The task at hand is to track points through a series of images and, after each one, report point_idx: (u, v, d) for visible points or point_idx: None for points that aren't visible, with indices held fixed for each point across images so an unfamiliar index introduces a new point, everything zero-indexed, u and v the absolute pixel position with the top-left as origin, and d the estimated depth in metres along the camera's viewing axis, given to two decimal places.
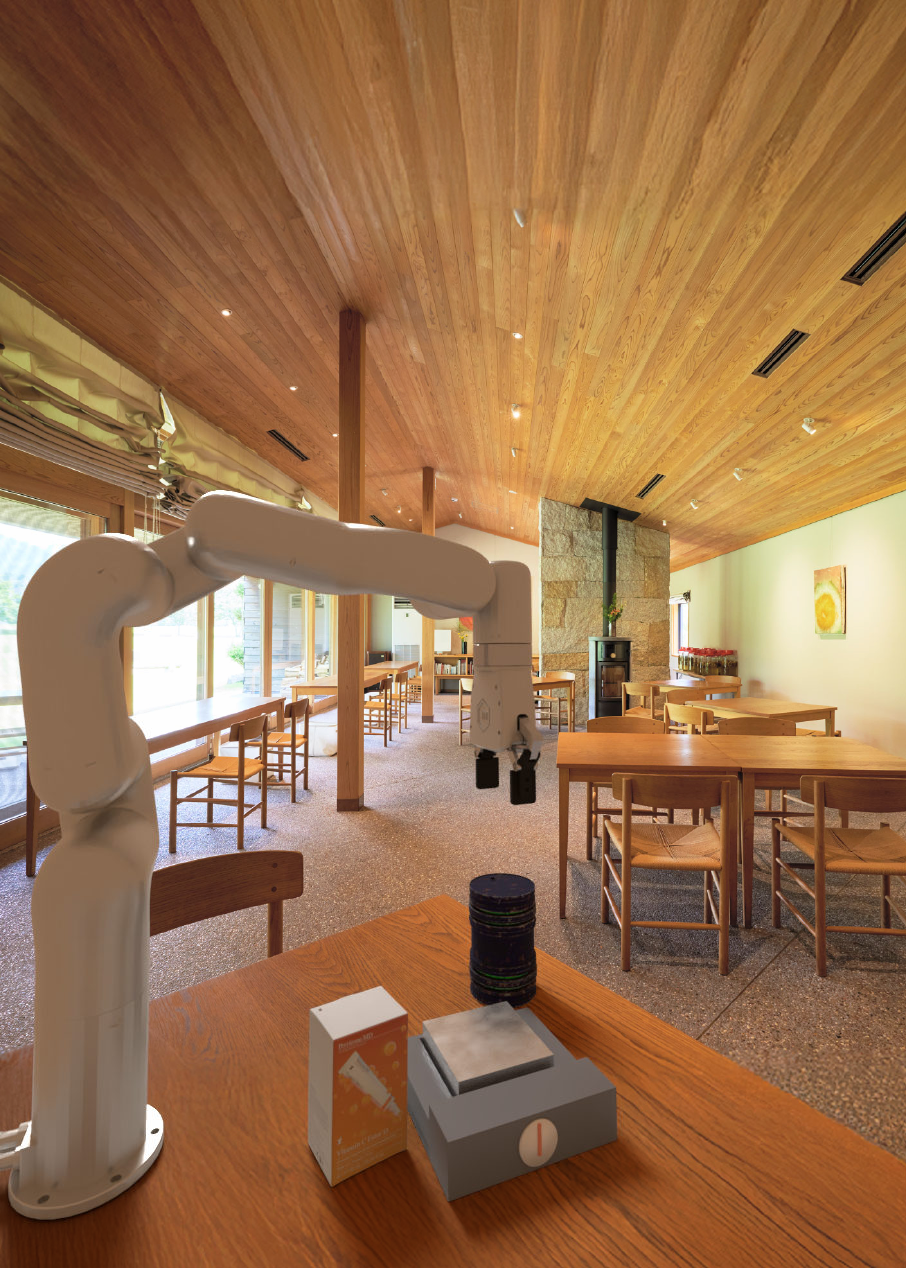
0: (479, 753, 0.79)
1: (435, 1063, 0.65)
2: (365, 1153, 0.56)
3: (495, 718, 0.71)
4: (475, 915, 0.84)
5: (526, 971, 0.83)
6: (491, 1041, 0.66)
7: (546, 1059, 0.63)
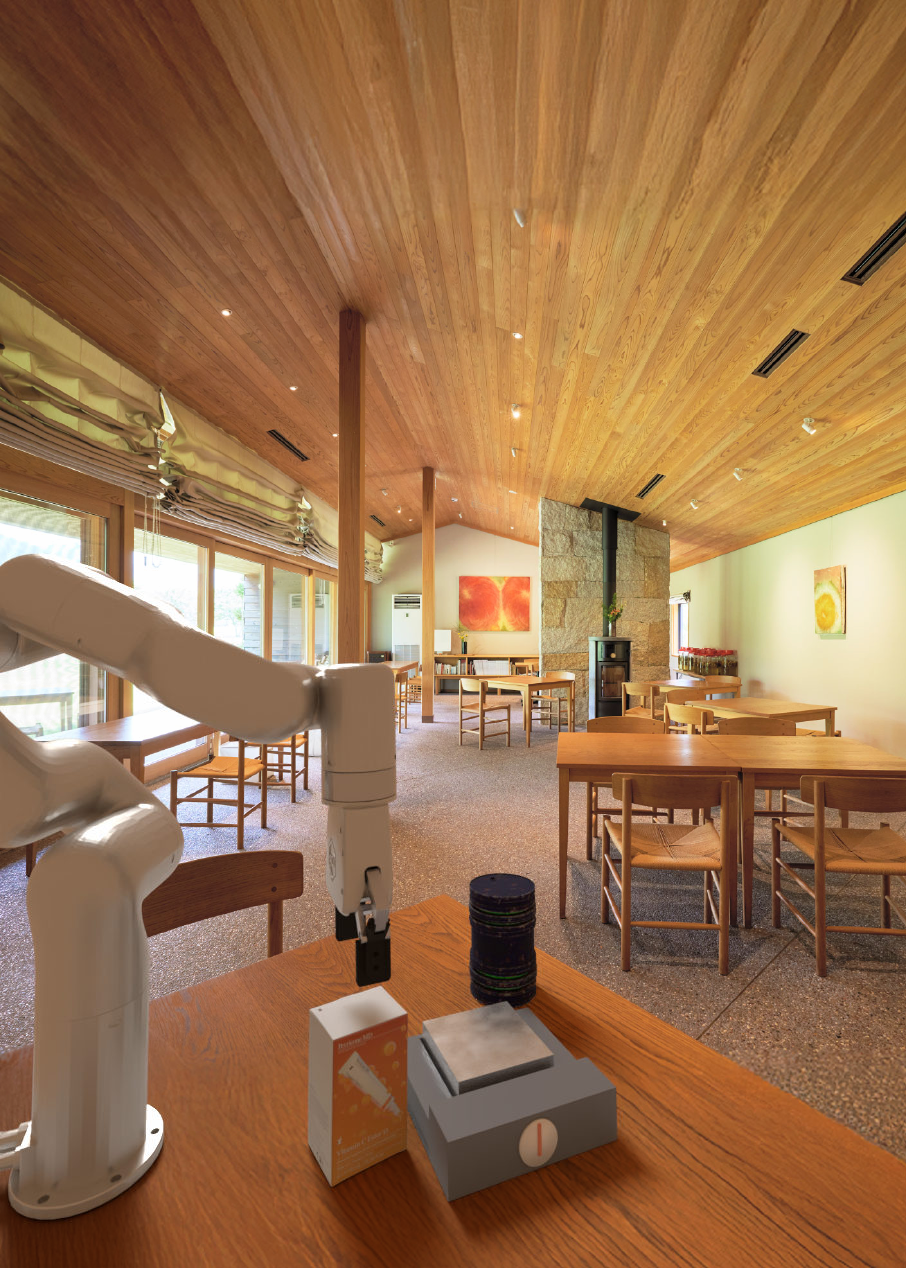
0: None
1: (435, 1063, 0.65)
2: (365, 1153, 0.56)
3: (339, 870, 0.56)
4: (476, 915, 0.84)
5: (526, 971, 0.83)
6: (491, 1041, 0.66)
7: (546, 1059, 0.63)
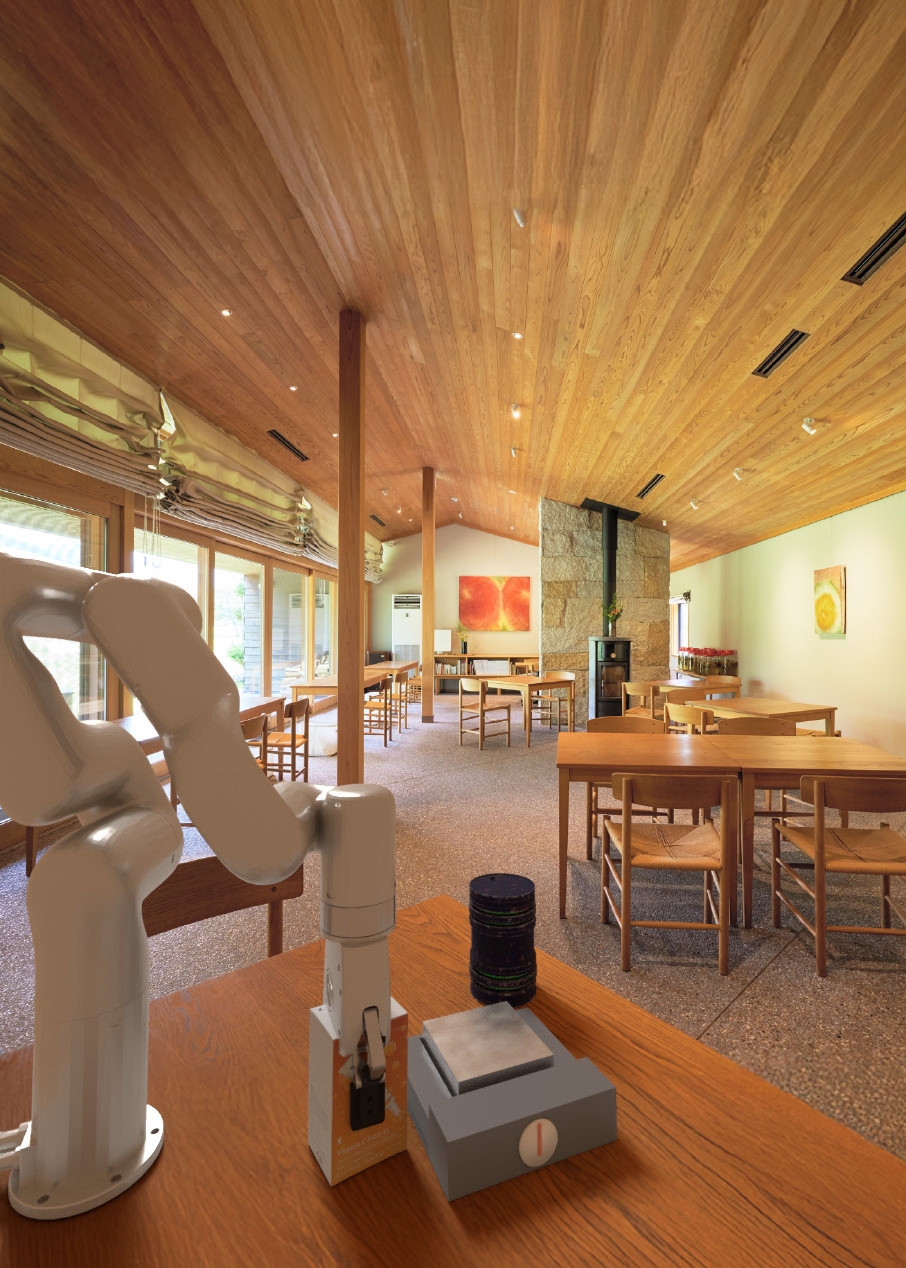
0: None
1: (435, 1063, 0.65)
2: (365, 1153, 0.56)
3: (337, 1008, 0.55)
4: (476, 915, 0.84)
5: (526, 971, 0.83)
6: (491, 1041, 0.66)
7: (546, 1059, 0.63)
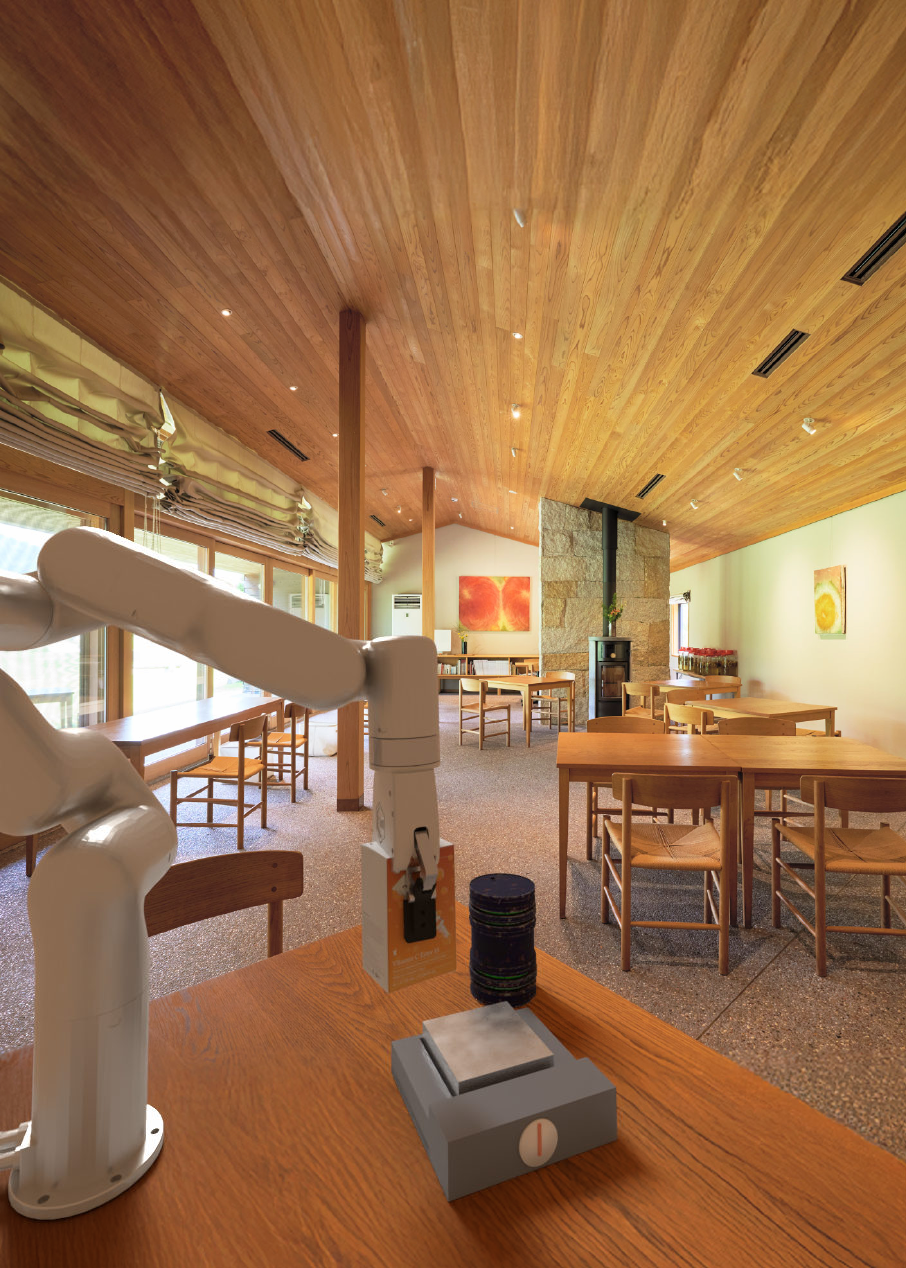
0: None
1: (435, 1063, 0.65)
2: (418, 967, 0.59)
3: (389, 831, 0.59)
4: (476, 915, 0.84)
5: (526, 971, 0.83)
6: (491, 1041, 0.66)
7: (546, 1059, 0.63)
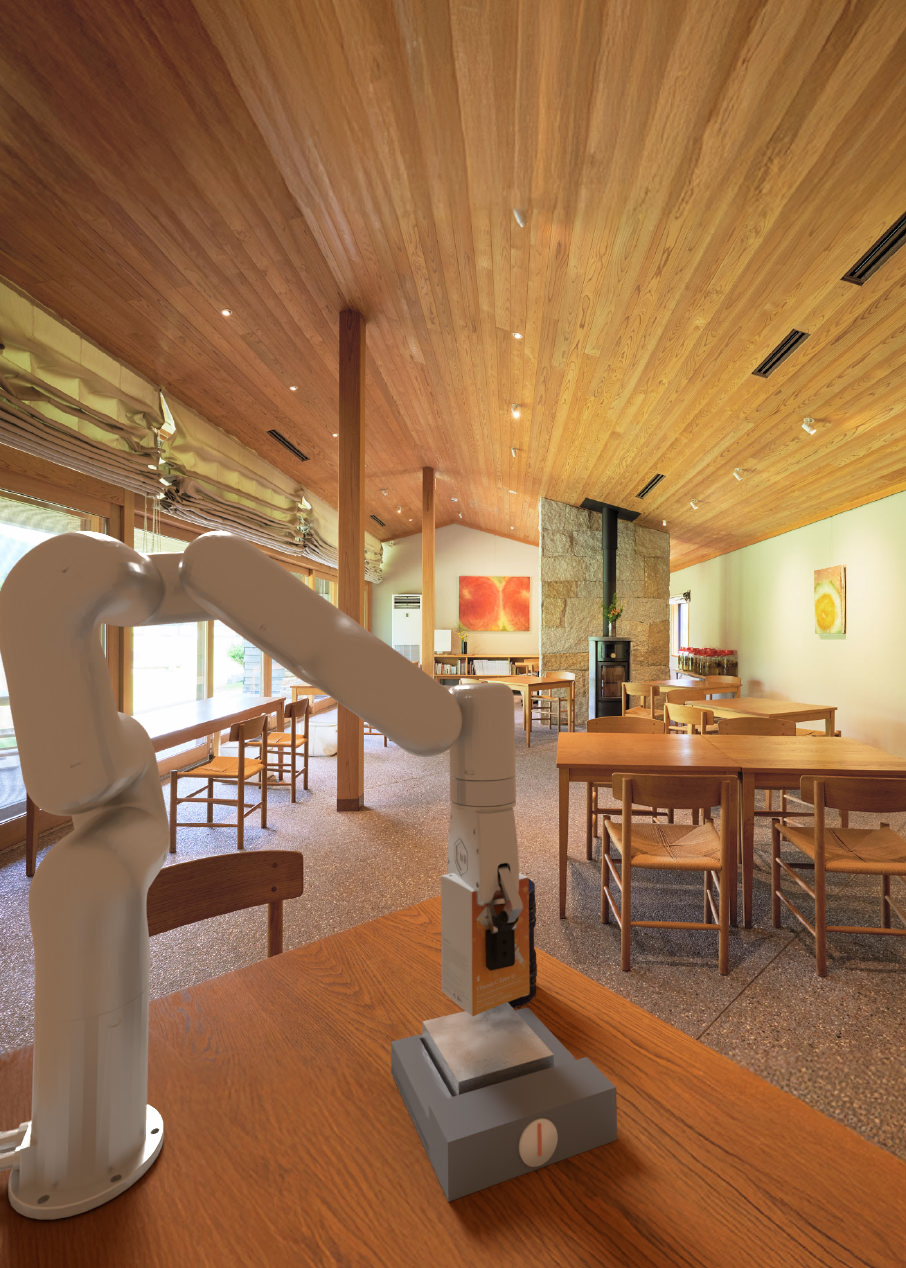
0: None
1: (435, 1063, 0.65)
2: (497, 992, 0.64)
3: (473, 866, 0.64)
4: None
5: None
6: (491, 1041, 0.66)
7: (546, 1059, 0.63)
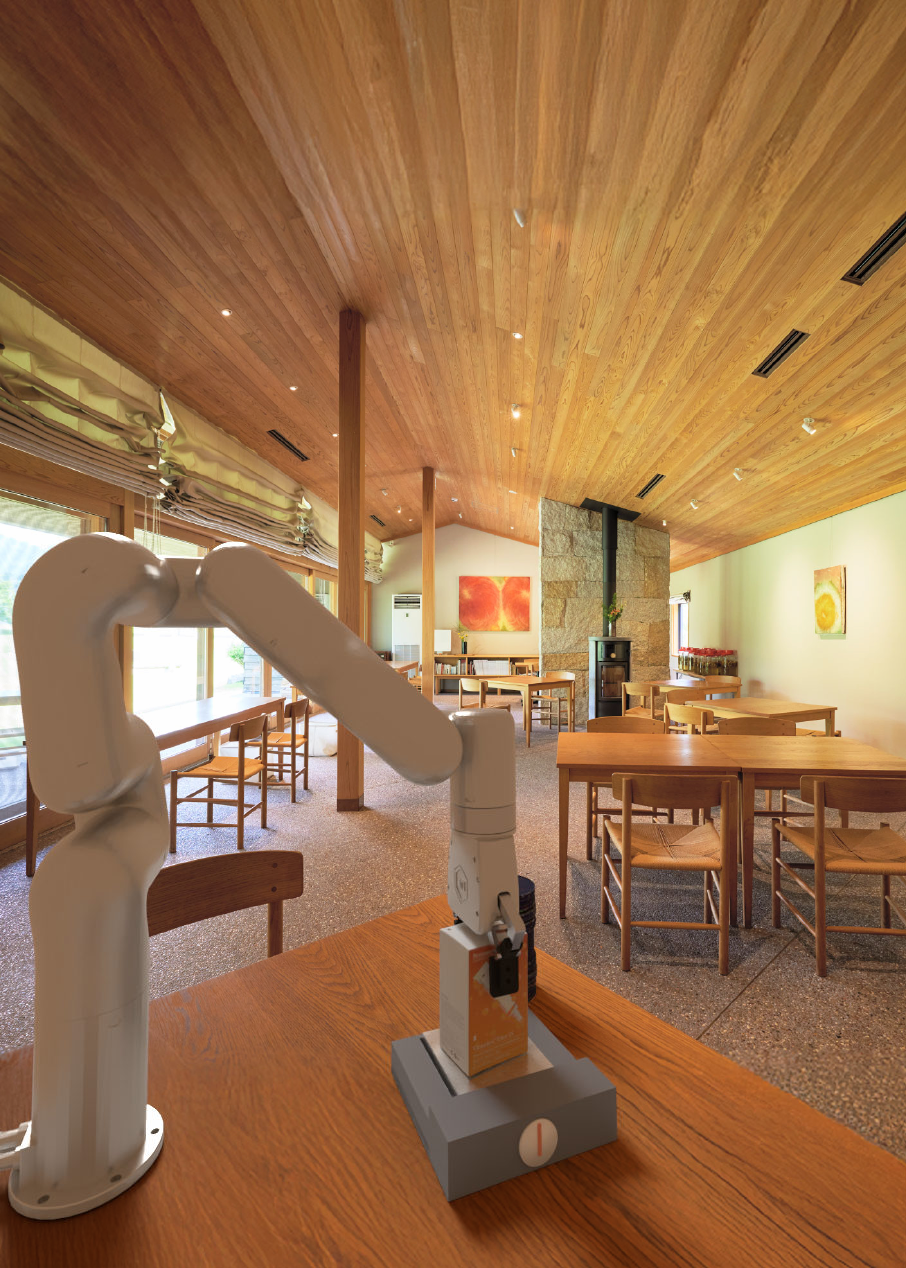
0: None
1: None
2: (494, 1051, 0.63)
3: (473, 895, 0.63)
4: None
5: None
6: None
7: None
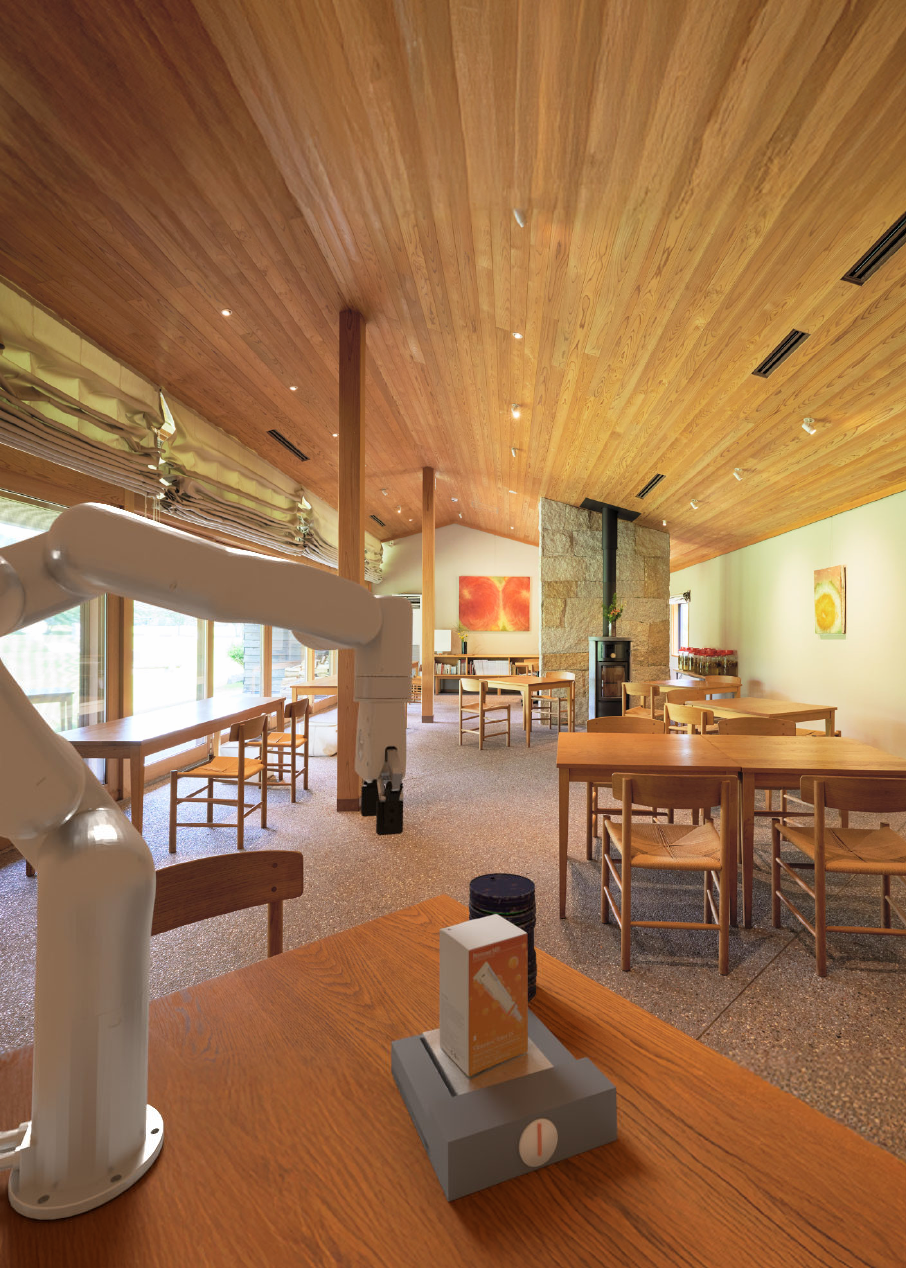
0: (365, 781, 0.81)
1: None
2: (494, 1051, 0.63)
3: (366, 749, 0.73)
4: (476, 915, 0.84)
5: None
6: None
7: None
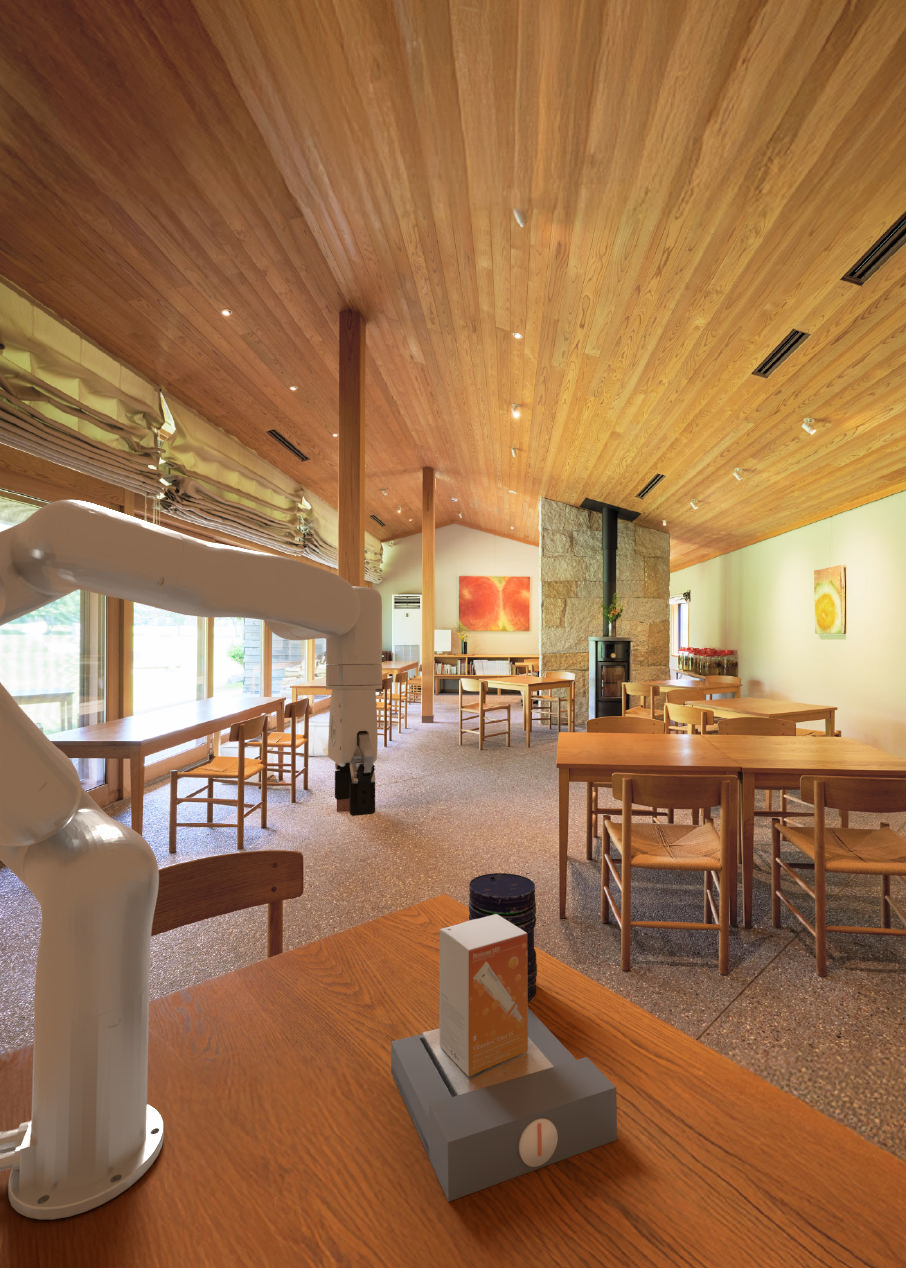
0: (338, 766, 0.84)
1: None
2: (494, 1051, 0.63)
3: (338, 734, 0.76)
4: (475, 915, 0.84)
5: None
6: None
7: None
